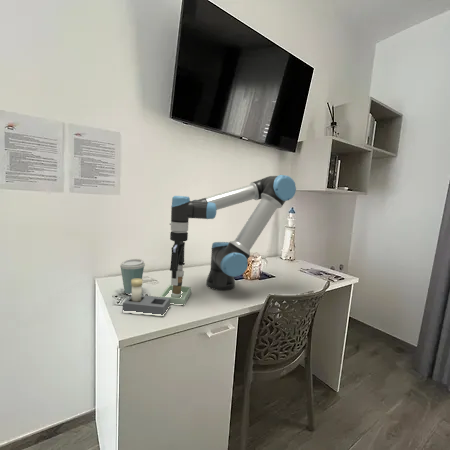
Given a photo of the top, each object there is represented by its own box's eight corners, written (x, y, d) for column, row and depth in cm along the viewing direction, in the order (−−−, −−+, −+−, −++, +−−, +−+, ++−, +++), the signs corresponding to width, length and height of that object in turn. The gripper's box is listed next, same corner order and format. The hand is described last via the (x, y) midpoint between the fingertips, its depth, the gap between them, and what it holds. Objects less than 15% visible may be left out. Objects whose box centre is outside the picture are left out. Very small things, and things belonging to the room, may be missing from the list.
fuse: (143, 307, 107) (144, 278, 106) (139, 311, 103) (140, 282, 101) (133, 306, 107) (134, 277, 106) (128, 310, 103) (129, 281, 102)
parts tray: (190, 293, 125) (191, 287, 124) (183, 306, 110) (184, 299, 110) (169, 290, 126) (169, 284, 125) (159, 303, 111) (159, 296, 111)
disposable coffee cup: (129, 299, 113) (130, 265, 111) (114, 293, 119) (114, 260, 117) (148, 292, 122) (150, 261, 120) (133, 286, 128) (134, 256, 126)
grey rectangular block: (169, 307, 109) (170, 297, 108) (163, 317, 100) (163, 307, 99) (132, 303, 110) (132, 294, 109) (122, 312, 101) (122, 303, 100)
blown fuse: (181, 295, 120) (184, 270, 118) (179, 299, 116) (182, 273, 114) (172, 293, 120) (175, 268, 118) (170, 297, 116) (173, 271, 114)
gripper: (176, 227, 125) (174, 274, 127) (163, 234, 104) (161, 289, 107) (192, 229, 124) (189, 275, 127) (182, 235, 104) (179, 291, 107)
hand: (176, 281), depth 117 cm, fingers open, 7 cm apart
